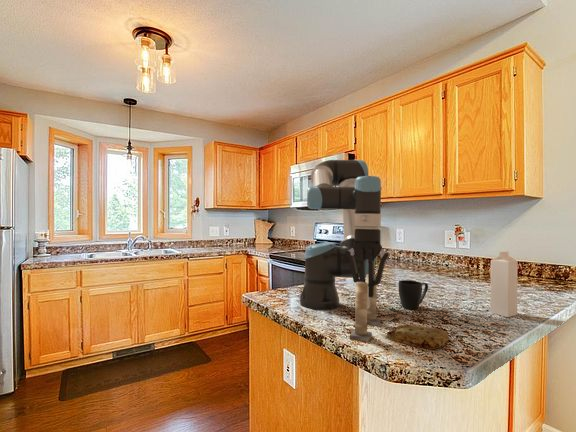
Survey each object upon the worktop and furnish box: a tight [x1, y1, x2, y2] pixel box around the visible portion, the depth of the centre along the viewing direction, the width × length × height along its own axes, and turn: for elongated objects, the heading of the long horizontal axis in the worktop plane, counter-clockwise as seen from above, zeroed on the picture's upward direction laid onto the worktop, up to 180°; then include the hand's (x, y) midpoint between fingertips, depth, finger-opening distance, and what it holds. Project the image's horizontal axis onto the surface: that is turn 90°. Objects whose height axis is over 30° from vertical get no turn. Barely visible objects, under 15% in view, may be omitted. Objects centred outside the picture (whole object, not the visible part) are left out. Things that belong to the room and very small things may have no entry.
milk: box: [489, 251, 519, 318], centre depth 110 cm, size 6×6×22 cm
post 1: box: [349, 281, 373, 343], centre depth 86 cm, size 5×5×15 cm
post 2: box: [365, 274, 381, 327], centre depth 98 cm, size 5×5×15 cm
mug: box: [398, 279, 429, 311], centre depth 117 cm, size 8×12×10 cm
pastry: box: [386, 323, 450, 350], centre depth 86 cm, size 17×17×3 cm
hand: (366, 307), depth 92 cm, fingers closed
